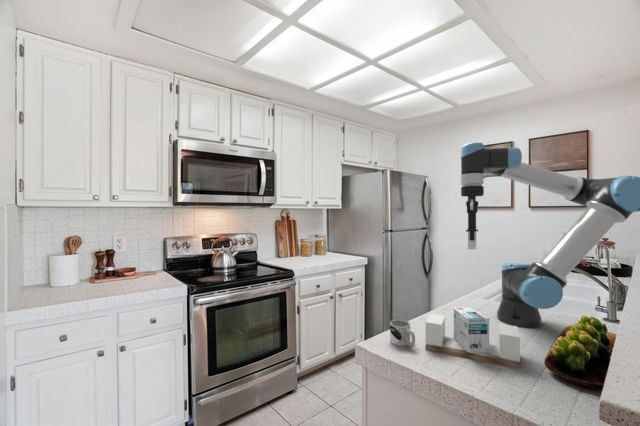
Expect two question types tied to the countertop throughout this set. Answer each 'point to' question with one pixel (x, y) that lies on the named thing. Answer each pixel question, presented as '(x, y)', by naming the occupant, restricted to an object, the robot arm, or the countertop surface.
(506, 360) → the rail board
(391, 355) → the countertop surface
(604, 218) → the robot arm
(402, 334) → the mug
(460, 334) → the light bulb box
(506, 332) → the mounted modules
